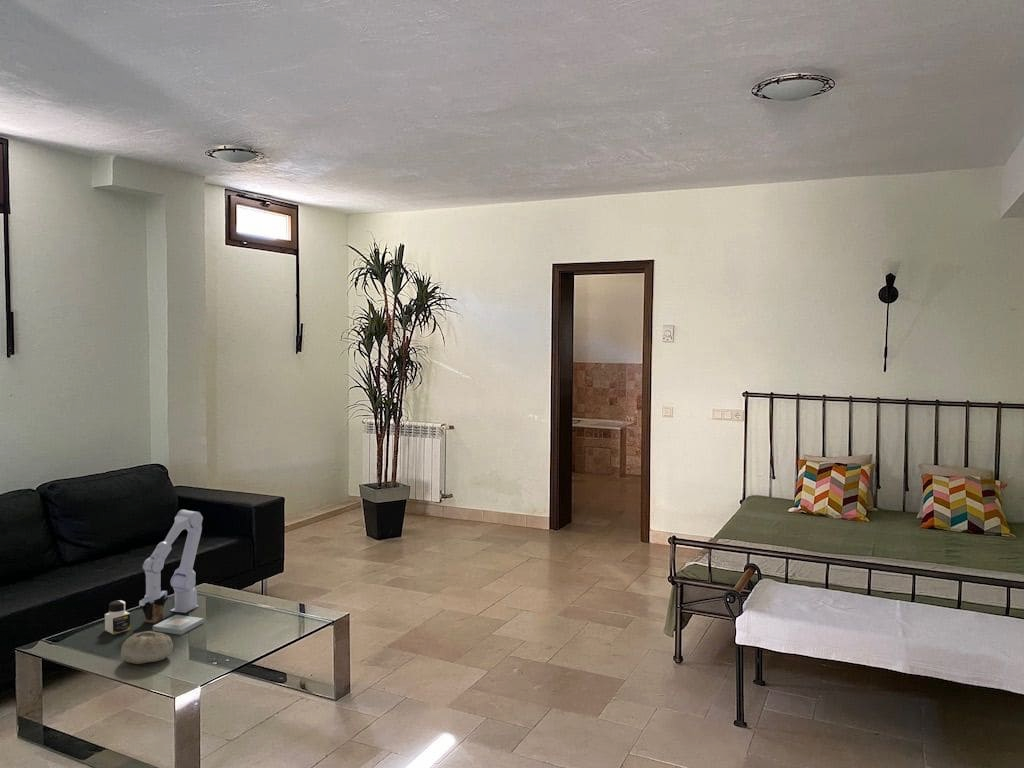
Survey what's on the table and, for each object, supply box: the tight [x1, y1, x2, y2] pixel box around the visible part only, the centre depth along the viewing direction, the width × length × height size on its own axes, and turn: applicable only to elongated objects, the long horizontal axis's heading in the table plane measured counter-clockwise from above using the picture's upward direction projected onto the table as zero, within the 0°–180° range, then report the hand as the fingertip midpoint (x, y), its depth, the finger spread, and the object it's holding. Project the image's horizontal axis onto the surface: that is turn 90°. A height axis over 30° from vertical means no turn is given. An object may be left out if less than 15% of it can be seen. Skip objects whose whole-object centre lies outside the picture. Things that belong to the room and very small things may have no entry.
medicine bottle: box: [104, 599, 131, 635], centre depth 327 cm, size 7×7×12 cm
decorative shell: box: [120, 630, 174, 665], centre depth 297 cm, size 18×18×10 cm
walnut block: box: [144, 603, 164, 624], centre depth 339 cm, size 5×5×6 cm
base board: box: [152, 614, 205, 636], centre depth 332 cm, size 14×14×2 cm
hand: (153, 617), depth 339 cm, fingers open, 6 cm apart
